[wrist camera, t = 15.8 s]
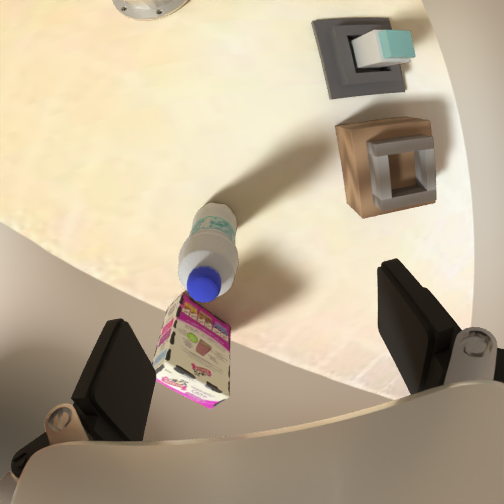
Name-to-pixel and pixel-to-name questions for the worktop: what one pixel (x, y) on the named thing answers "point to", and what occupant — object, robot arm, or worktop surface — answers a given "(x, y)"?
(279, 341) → the worktop surface
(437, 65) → the worktop surface
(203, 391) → the candy bar box
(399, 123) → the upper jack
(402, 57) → the plug
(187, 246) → the bottle
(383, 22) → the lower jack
